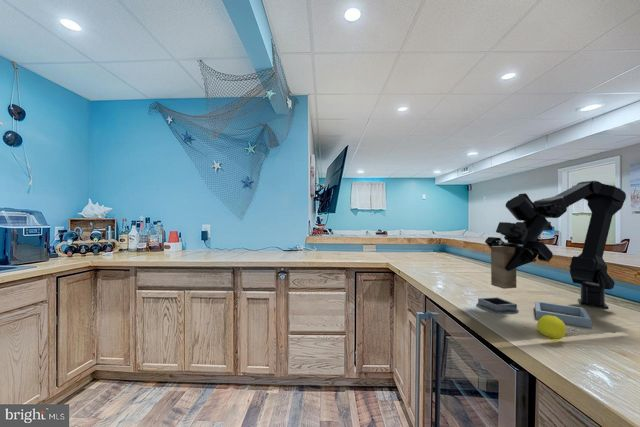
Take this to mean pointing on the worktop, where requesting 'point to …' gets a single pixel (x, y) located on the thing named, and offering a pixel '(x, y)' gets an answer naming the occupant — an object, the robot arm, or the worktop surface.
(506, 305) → the base
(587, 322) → the tray
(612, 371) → the worktop surface
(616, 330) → the worktop surface
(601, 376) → the worktop surface
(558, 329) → the lemon
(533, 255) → the robot arm
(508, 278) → the post
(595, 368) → the worktop surface
